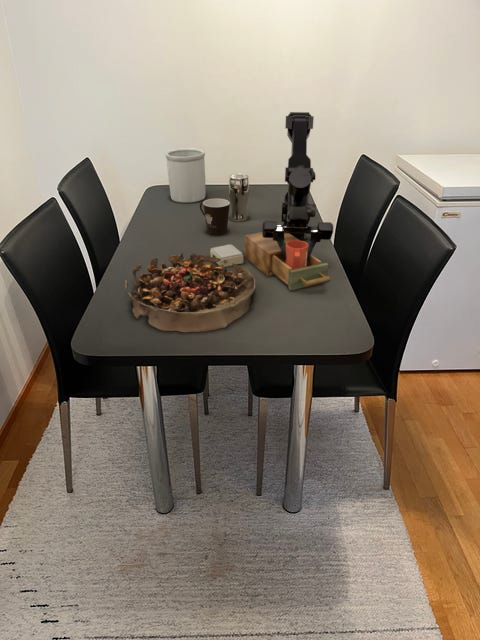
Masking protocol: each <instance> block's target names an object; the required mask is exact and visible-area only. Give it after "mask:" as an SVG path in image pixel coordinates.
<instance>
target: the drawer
mask: <svg viewBox="0 0 480 640" xmlns="http://www.w3.org/2000/svg"><path fill="white" fill-rule="evenodd" d="M270 271H271V272H273V273H274V274H275V275H274V276H276V277H277V278H278V279H280V280H281V281H282V282H283V283H284V284H286V285H287V286H288V290H289V291H294V290H299V289H302V288H303V289H304V288H309V287H312V286H316V285H320V284H323V283H328V282H330V281H331V277H330V276H329V275H328V273H329V263H328V262H322V261H321V260H320V259H318V258H317V257H315V256H314V255H313V254H311V255H310V258H309V261H307V267H303V268H299V269H294V270H292V268H291V267H289V266H288V265H287V264H285V260H284V258H283V255H282V253H279V254H274V255H271V261H270Z"/></svg>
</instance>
